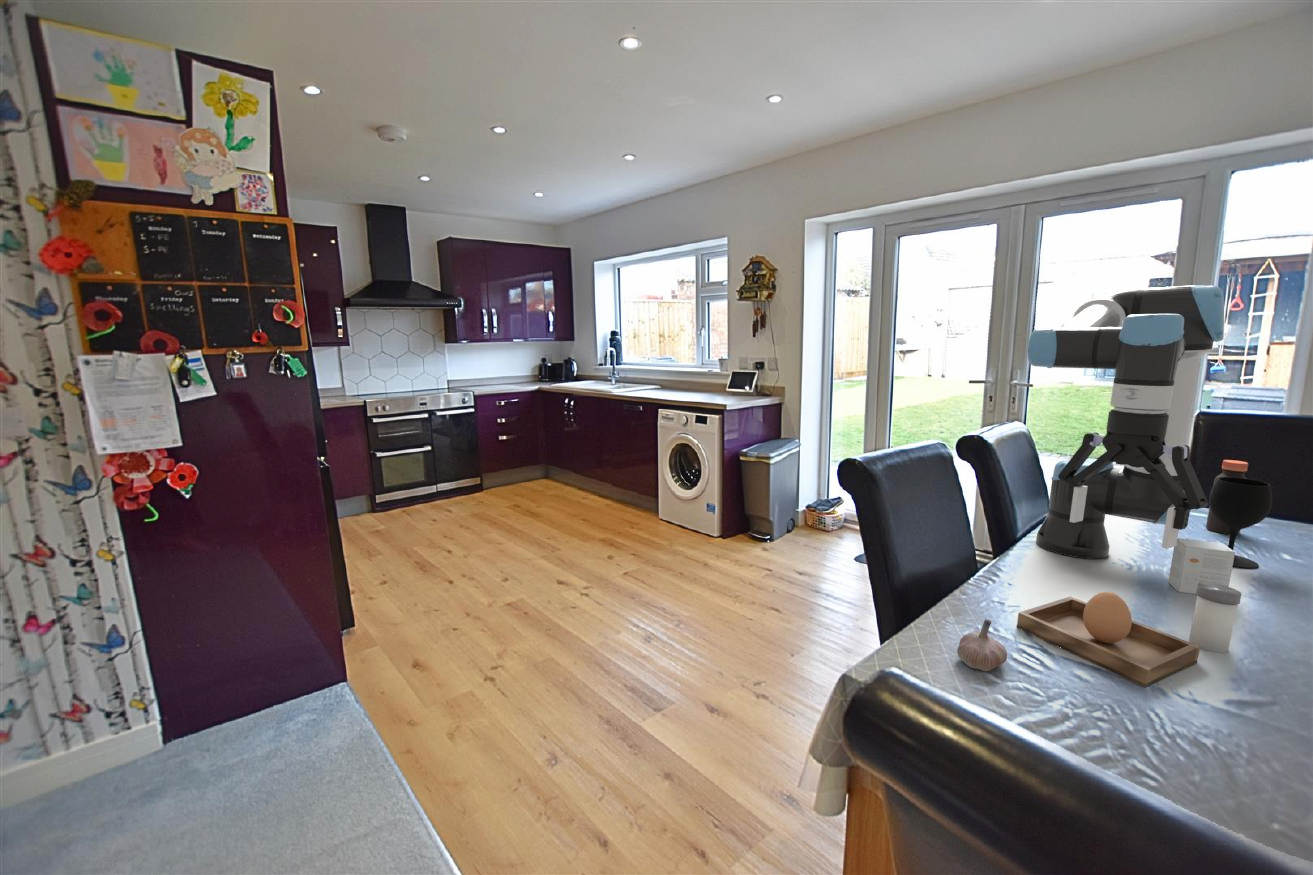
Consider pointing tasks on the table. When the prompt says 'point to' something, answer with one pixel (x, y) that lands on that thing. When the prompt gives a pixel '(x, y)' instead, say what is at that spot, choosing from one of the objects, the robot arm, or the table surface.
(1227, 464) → the bottle
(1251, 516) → the wine glass
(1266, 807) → the table surface
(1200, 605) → the shaker
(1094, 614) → the egg
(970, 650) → the garlic bulb
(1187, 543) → the small box
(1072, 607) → the tray
